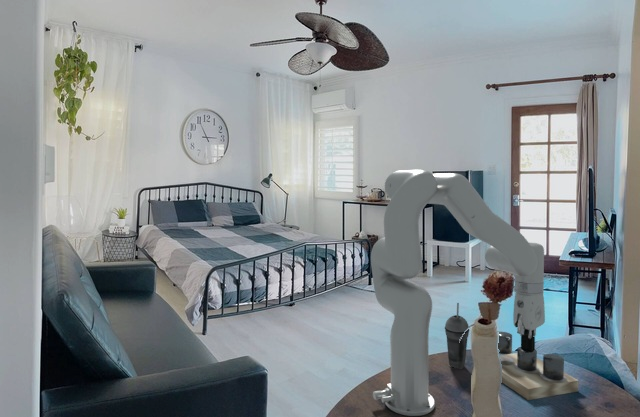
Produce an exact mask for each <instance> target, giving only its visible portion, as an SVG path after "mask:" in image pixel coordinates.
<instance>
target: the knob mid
mask: <svg viewBox="0 0 640 417" xmlns="http://www.w3.org/2000/svg"><path fill="white" fill-rule="evenodd" d="M516 353H517V367H518V368H520V369H522V370H526V371H535V370H536V369H537V358H538V357H537V356H538V351H537V349H535V350H534V351H533V352H529V351H526V350H522V349H521V346H519V347H517V352H516Z"/></svg>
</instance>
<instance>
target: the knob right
mask: <svg viewBox="0 0 640 417" xmlns="http://www.w3.org/2000/svg"><path fill="white" fill-rule="evenodd" d="M542 357H543V358H542V361H543V375H544V376H545V377H547V378H549V379H553V380H562V379H563V378H564V373H565V358H564V357H562V356H560V355H558V354H553V353H546V354H544V355H543V356H542Z"/></svg>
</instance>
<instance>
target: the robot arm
mask: <svg viewBox="0 0 640 417" xmlns="http://www.w3.org/2000/svg"><path fill="white" fill-rule="evenodd" d="M384 192H385V194H386V195H387V197H388V198H389V199H390V200H389V202H388V204H387V206H386V209H385V211H384V216H383V230H384V231H383V232H384V234H383V235H384V237H381V238H379V239H377V241H376V242H375V243H374V244H373V246H372V249H371V253H370V265H371V273H372V281H373V282H372V283H373V288H374V289H373V290H374V296H375V298H376V300H377V302H378V304H379V305H380V306H381V307H382V308H384V309H385V310H387V311H389V312H390V313H391V314H393V315H394V316H393V317H394V318H393V322H392V325H391V329H390V337H389V338H390V339H389V340H390V342H389V343H390V344H389V346H390V383H387V385H386V388H384V389H382V390H376V391H373V392H372V397H373V400H374V401H375V400H376V401H377V400H379V399H380V400H381V402H382V403H385V406H386V407H387V408H388V409H389V410H391V411H392V412H393V413H396V414H400V415H403V416H408V417H420V416H424V415H428V414H429V413H431V412H433V411H434V409H435V406H436V404H435V403H436V402H435V399H434V397H433V395H431V394H430V393H429V331H430V329H429V328H430V323H431V318H432V312H433V301H432V296H431V295H430V293H429V292H428V291H427V290H426V288H424V287H423V286H422V285H420V284H418V283H416V282H413V281H411V280H410V279H414V278H416V277H417V276H418V275H419V274H420V272H421V270H422V267H423V255H422V247H421V239H420V229H419V228H420V226H419V220H420V216H421V214H422V212H423V210H424V208H425V207H426V205H427V204H429V205H430V204H431V205H442V206H444V207H446V209H447V210H448V211H449V212H450V214H451V215H452V216H453V218H454V219H456V222H458V224H459V226H461V228H462V229H463V230H464V231H465V232H466V233H467V234H469V235H470V236H472V237H473V238H475V239H477V240H479V241H482V242H484V243H486V244H488V245H489V246H488V247H487V249H486V251H485V253H484V258H485V259H484V261H485V262H486V264H487V265H488V266H489V267H490V268H492V269H494V270H497V271H500V272H503V271H506V272H505V273H508V272H509V273H508V274H512V275H513V278H514V277H515V288H514V287H513V292H514V302H513V314H512V316H513V326H514V327H515V328H517V329H516V330H517V331H516V333H517V334H519V335H520V347H521V349H522V350H526V351H529V352H533V351H534V350H536V347H535V346H536V336H537V333H536V332H537V329H538V328H539V327H541V326H543V325H544V324H545V322H546V321H545V320H546V319H545V318H546V312H545V309H546V307H545V297H544V288H545V287H544V285H545V284H544V281H545V279H544V278H545V276H544V273H545V270H544V269H545V268H544V267H545V249H544V246H543V245H542V244H540V243H536V242H529V241H528V240H527V238H526V237H525V236H524V235H523V234H522V233H521V232H520V231H518V230H517V229H516V228H515V227H513V226H512V225H510V224H509V223H508V222H506V221H505V220H504V219H503V218H501V217H500V216H498V215H497V214H495V213H494V212H493V210H491V208H490V207H489V206H488V204H487V203H486V202H485V200H484V199H483V198H482V197H481V195H480V194H479V192H478V191H477V190H476V188H474V186H473V184H472V183H471V182H470V181H469V179H468V178H467V177H465V176H464V175H463V174H460V173H456V172H455V173H453V172H452V173H451V172H448V173H447V172H446V173H445V172H444V173H432V172H430V171H428V170H425V169H408V170H407V169H405V170H396V171H394V172H391V174H389V175H388V176H387V177H386V179H385V182H384Z"/></svg>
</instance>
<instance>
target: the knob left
mask: <svg viewBox="0 0 640 417" xmlns="http://www.w3.org/2000/svg"><path fill="white" fill-rule="evenodd" d="M498 332H499V343H498V349H499V350H500V352H499V353H498V355H499V354H500V355H506V354H513V353H512V352H513V334H512V333H510V332H507V331H498Z"/></svg>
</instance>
